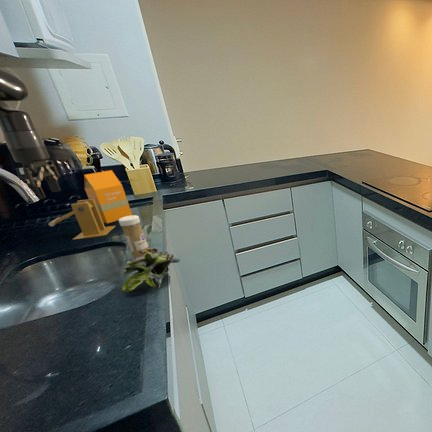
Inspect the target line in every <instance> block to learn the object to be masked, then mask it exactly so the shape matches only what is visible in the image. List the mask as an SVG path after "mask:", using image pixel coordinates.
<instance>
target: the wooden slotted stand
mask: <svg viewBox="0 0 432 432" xmlns="http://www.w3.org/2000/svg"><path fill="white" fill-rule="evenodd" d="M86 201H88V202H86ZM84 202H86V203H84ZM89 203H90V204H91V205H92V206H93V207H90V204H89ZM70 207H71V209H72V211H74V213H75V214H74V216H75V218H76V220H77V223H78V225H79V228H80V230H81V232H80V233H79V234H78V235H76V236H75V237H74V238H72V240H73V241H74V240H82V239H89V238H95V237H103V236H107V235H108V234H109V233H110V232H111V231H112V230H113V229H114V228H116V225H110V226H105V223H104V222H103V221H102V218H101V215H100V213H99V210H98V208H97V205H96V203H95V200H94V199H89V198H88V199H80V200H77V201H76V203H71V204H70Z"/></svg>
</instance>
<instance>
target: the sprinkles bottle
mask: <svg viewBox="0 0 432 432" xmlns="http://www.w3.org/2000/svg"><path fill="white" fill-rule="evenodd" d="M118 223H119V226H120V227H121V229H122V232H123V235H124V238H125V241H126V244H127V246H128V249H129V251H130V253H131V256H132V261H134V259H136V258H137V257H141V256H143V257H144V255H143V254H141V253H139V252H140V251H144V250H145V251H146V249H150V248H149V244H148V242H147V238H146V235H145V234H144V231H143V228H142V225H141V220H140V217H139V215H137V214H132V215H131V216H126V217H122V218H120V219H119V220H118Z"/></svg>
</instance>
